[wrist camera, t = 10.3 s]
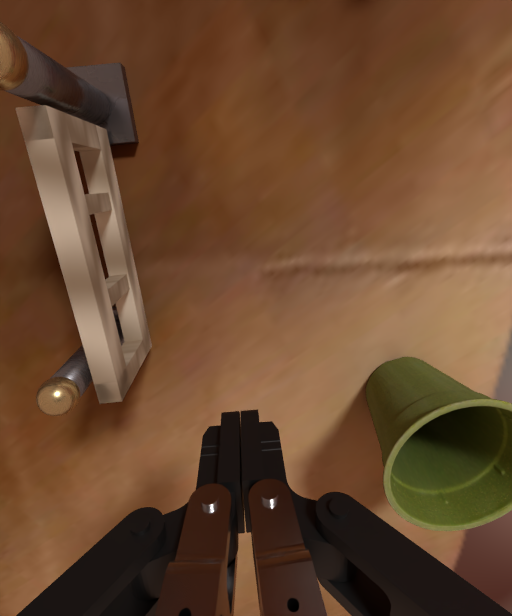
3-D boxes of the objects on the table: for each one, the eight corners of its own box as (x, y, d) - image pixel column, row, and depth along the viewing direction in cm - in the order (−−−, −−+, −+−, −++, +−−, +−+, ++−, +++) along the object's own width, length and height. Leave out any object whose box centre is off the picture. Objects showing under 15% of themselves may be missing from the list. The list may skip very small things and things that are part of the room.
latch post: (89, 309, 32) (3, 381, 20) (133, 304, 32) (73, 374, 20) (100, 349, 33) (25, 438, 21) (142, 344, 33) (91, 431, 21)
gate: (85, 131, 25) (15, 107, 17) (106, 129, 25) (45, 105, 17) (135, 347, 31) (99, 403, 23) (151, 345, 31) (122, 401, 23)
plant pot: (470, 335, 34) (574, 404, 24) (440, 435, 38) (517, 532, 28) (351, 329, 33) (403, 398, 23) (333, 432, 37) (370, 531, 27)
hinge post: (55, 73, 25) (-123, -32, 13) (124, 67, 25) (14, -44, 13) (73, 148, 27) (-68, 120, 15) (138, 142, 27) (53, 109, 15)
